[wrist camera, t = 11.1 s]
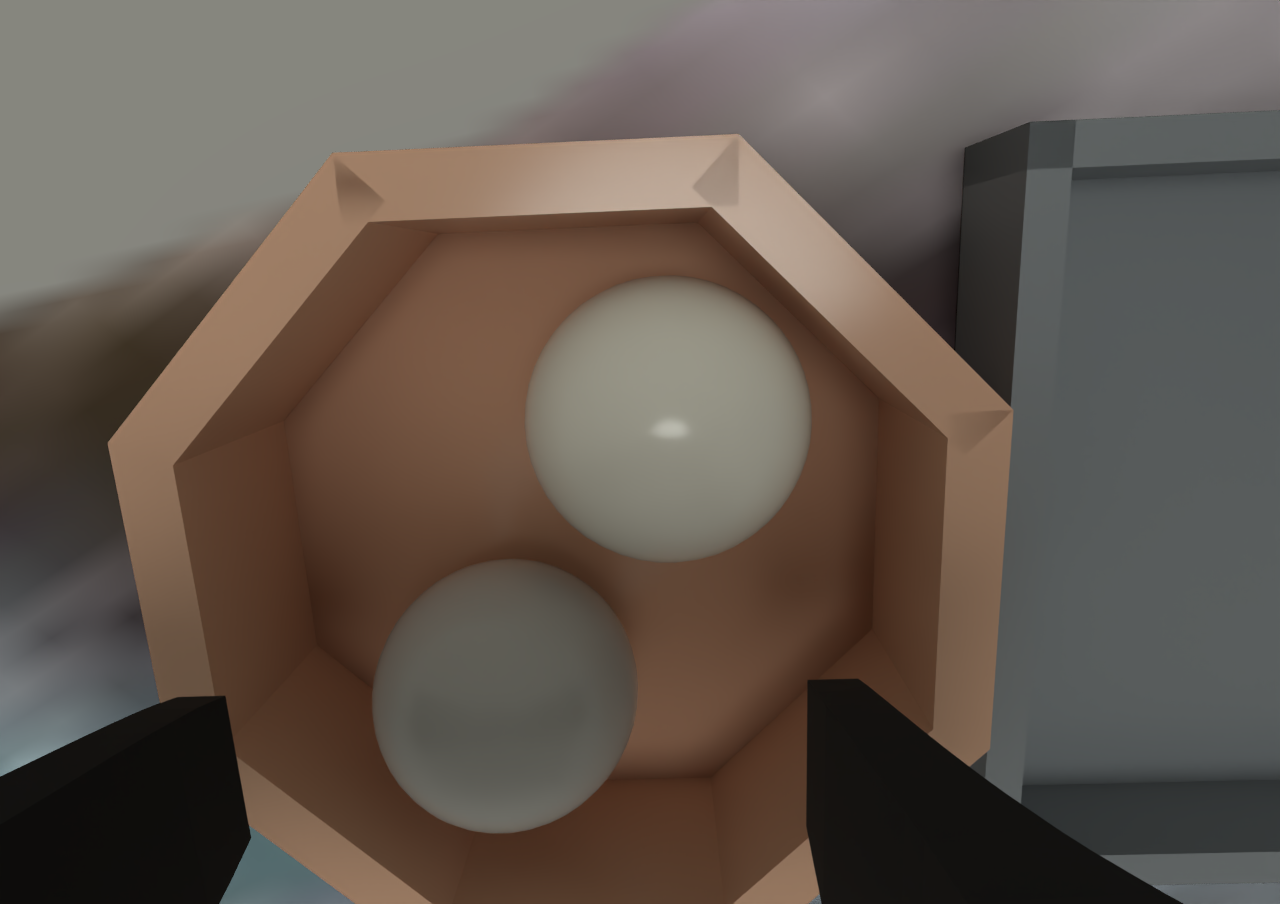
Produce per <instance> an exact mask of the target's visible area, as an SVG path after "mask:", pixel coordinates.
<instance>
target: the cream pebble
mask: <svg viewBox="0 0 1280 904" xmlns="http://www.w3.org/2000/svg"><path fill="white" fill-rule="evenodd" d="M811 430H812V408H811V400H810V393H809V388H808V384H807V380H806V376H805V373H804V370H803V368H802V365H801V363H800V360H799V358H798V356H797V354H796V352H795V350H794V348H793V347H792V345H791V343H790V341H789V340H788V339H787V337H786V336H785V334H784V333H783V332H782V330H781V329H780V328H779V327H778V325H777V324H776V323H775V322H774V321H773V320H772V319H771V318H770V317H769V316H768V315H767V314H766V313H765V312H764V311H762V310H761V309H760V308H759V307H758V306H757V305H755V304H754V303H752V302H751V301H749V300H748V299H746V298H745V297H743V296H742V295H740V294H738V293H736V292H734V291H732V290H730V289H729V288H727V287H725V286H722V285H719V284H716V283H714V282H711V281H708V280H703V279H699V278H694V277H688V276H677V275H668V276H649V277H644V278H638V279H633V280H630V281H627V282H624V283H620V284H617V285H615V286H613V287H611V288H609V289H607V290H605V291H602V292H600V293H599V294H597V295H595V296H593V297H592V298H590V299H589V300H587V301H586V302H584V303H583V304H581V305H580V306H579V307H578V308H576V309H575V310H574V311H573V312H572V313H571V314H570V315H569V316H567V317H566V319H565V320H564V321H563V322H562V323H561V324H560V326H559V327H558V328H557V329H556V330H555V331H554V333H553V334H552V335H551V337H550V339H549V340H548V342H547V343H546V345H545V346H544V348H543V349H542V351H541V353H540V355H539V358H538V360H537V362H536V364H535V366H534V369H533V372H532V375H531V379H530V382H529V385H528V391H527V397H526V403H525V434H526V444H527V448H528V452H529V456H530V461H531V464H532V466H533V469H534V472H535V474H536V477H537V479H538V481H539V483H540V485H541V487H542V489H543V490H544V492H545V494H546V496H547V497H548V499H549V500H550V502H551V503H552V504H553V506H554V507H555V508H556V510H557V511H558V512H559V513H560V514H561V515H562V516H563V517H564V519H565V520H566V521H567V522H568V523H569V524H570V525H571V526H573V527H574V528H575V529H576V530H578V531H579V532H580V533H581V534H583V535H584V536H585V537H587V538H588V539H590V540H592V541H593V542H595V543H597V544H598V545H600V546H602V547H604V548H606V549H609V550H611V551H613V552H615V553H618V554H620V555H623V556H627V557H630V558H634V559H637V560H643V561H650V562H657V563H677V562H685V561H692V560H698V559H702V558H706V557H709V556H713V555H717V554H719V553H721V552H724V551H726V550H728V549H731V548H733V547H735V546H736V545H738V544H740V543H741V542H743V541H744V540H746V539H748V538H749V537H751V536H752V535H754V534H755V533H756V532H757V531H758V530H760V529H761V528H762V527H763V526H765V525H766V524H767V523H768V522H769V521H770V520H771V519H772V518H773V517H774V516H775V515H776V513H777V512H778V511H779V510H780V509H781V507H782V506H783V504H784V503H785V502H786V500H787V499H788V497H789V496H790V494H791V492H792V491H793V489H794V487H795V485H796V483H797V481H798V479H799V477H800V475H801V473H802V470H803V467H804V465H805V462H806V459H807V454H808V450H809V446H810V439H811Z"/></svg>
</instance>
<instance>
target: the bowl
mask: <svg viewBox="0 0 1280 904" xmlns="http://www.w3.org/2000/svg"><path fill="white" fill-rule="evenodd" d="M668 275H677V276H688V277H694V278H699V279H703V280H708V281H711V282H714V283H716V284H719V285H722V286H725V287H727V288H729V289H730V290H732V291H734V292H736V293H738V294H740V295H742V296H743V297H745V298H746V299H748V300H749V301H751V302H752V303H754V304H755V305H757V306H758V307H759V308H760V309H761V310H762V311H764V312H765V313H766V314H767V315H768V316H769V317H770V318H771V319H772V320H773V321H774V322H775V323H776V324H777V325H778V327H779V328H780V329H781V330H782V332H783V333H784V334H785V336H786V337H787V339H788V340H789V341H790V343H791V345H792V347H793V348H794V350H795V352H796V354H797V356H798V358H799V360H800V363H801V365H802V368H803V370H804V373H805V376H806V380H807V384H808V388H809V393H810V400H811V408H812V430H811V439H810V446H809V450H808V454H807V459H806V462H805V465H804V467H803V470H802V473H801V475H800V477H799V479H798V481H797V483H796V485H795V487H794V489H793V491H792V492H791V494H790V496H789V497H788V499H787V500H786V502H785V503H784V504H783V506H782V507H781V509H780V510H779V511H778V512H777V513H776V515H775V516H774V517H773V518H772V519H771V520H770V521H769V522H768V523H767V524H766V525H765V526H763V527H762V528H761V529H760V530H758V531H757V532H756V533H755V534H754V535H752V536H751V537H749V538H748V539H746V540H744V541H743V542H741V543H740V544H738V545H736V546H735V547H733V548H731V549H728V550H726V551H724V552H721V553H719V554H717V555H713V556H709V557H706V558H702V559H698V560H692V561H685V562H677V563H657V562H650V561H643V560H637V559H634V558H630V557H627V556H623V555H620V554H618V553H615V552H613V551H611V550H609V549H606V548H604V547H602V546H600V545H598V544H597V543H595V542H593V541H592V540H590V539H588V538H587V537H585V536H584V535H583V534H581V533H580V532H579V531H578V530H576V529H575V528H574V527H573V526H571V525H570V524H569V523H568V522H567V521H566V520H565V519H564V517H563V516H562V515H561V514H560V513H559V512H558V511H557V510H556V508H555V507H554V506H553V504H552V503H551V502H550V500H549V499H548V497H547V496H546V494H545V492H544V490H543V489H542V487H541V485H540V483H539V481H538V479H537V477H536V474H535V472H534V469H533V466H532V464H531V461H530V456H529V452H528V448H527V444H526V434H525V403H526V397H527V391H528V385H529V382H530V379H531V375H532V372H533V369H534V366H535V364H536V362H537V360H538V358H539V355H540V353H541V351H542V349H543V348H544V346H545V345H546V343H547V342H548V340H549V339H550V337H551V335H552V334H553V333H554V331H555V330H556V329H557V328H558V327H559V326H560V324H561V323H562V322H563V321H564V320H565V319H566V317H567V316H569V315H570V314H571V313H572V312H573V311H574V310H575V309H576V308H578V307H579V306H580V305H581V304H583V303H584V302H586V301H587V300H589V299H590V298H592V297H593V296H595V295H597V294H599V293H600V292H602V291H605V290H607V289H609V288H611V287H613V286H615V285H617V284H620V283H624V282H627V281H630V280H633V279H638V278H644V277H649V276H668ZM1012 425H1013V409H1012V408H1011V407H1010V406H1009V405H1008V404H1007V403H1006V402H1005V401H1004V400H1003V399H1002V398H1001V397H1000V396H999V395H998V394H997V393H996V392H995V391H994V390H993V389H992V388H991V387H990V386H989V385H988V384H987V383H986V382H985V381H984V380H983V379H982V378H981V377H980V376H979V375H978V374H977V373H976V372H975V371H974V370H973V369H972V368H971V367H970V366H969V365H968V364H967V363H966V362H965V361H964V360H963V359H962V358H961V357H960V356H959V355H958V354H957V353H956V352H955V351H954V350H953V349H952V348H951V347H950V346H949V345H948V344H947V343H946V342H945V341H944V340H943V339H942V338H941V337H940V336H939V335H938V334H937V333H936V332H935V331H934V330H933V329H932V328H931V327H930V326H929V325H928V324H927V323H926V322H925V321H924V320H923V319H922V318H921V317H920V316H919V315H918V314H917V313H916V312H915V311H914V310H913V309H912V308H911V307H910V306H909V305H908V303H907V302H906V301H905V300H904V299H903V298H902V297H901V296H900V295H899V294H898V293H897V292H896V291H895V290H894V289H893V288H892V287H891V286H890V285H889V284H888V283H887V282H886V281H885V280H884V279H883V278H882V277H881V276H880V275H879V274H878V273H877V272H876V271H875V270H874V269H873V268H872V267H871V266H870V265H869V264H868V263H867V262H866V261H865V260H864V259H863V258H862V257H861V256H860V255H859V254H858V253H857V252H856V251H855V250H854V249H853V248H852V247H851V246H850V245H849V244H848V243H847V242H846V241H845V240H844V239H843V238H842V237H841V236H840V235H839V234H838V233H837V232H836V231H835V230H834V229H833V228H832V227H831V226H830V225H829V224H828V223H827V222H826V221H825V220H824V219H823V218H822V217H821V216H820V215H819V214H818V213H817V212H816V211H815V210H814V209H813V208H812V207H811V206H810V205H809V204H808V203H807V202H806V201H805V200H804V199H803V198H802V197H801V196H800V195H799V194H798V193H797V192H796V191H795V190H794V189H793V188H792V187H791V186H790V185H789V184H788V183H787V182H786V181H785V180H784V179H783V178H782V177H781V176H780V175H779V174H778V173H777V172H776V171H775V170H774V169H773V168H772V167H771V166H770V165H769V164H768V163H767V162H766V161H765V160H764V159H763V158H762V157H761V156H760V155H759V154H758V153H757V152H756V151H755V150H754V149H753V148H752V147H751V146H750V145H749V144H748V143H747V142H746V141H745V140H744V139H743V138H742V137H741V136H740V135H739V134H727V135H705V136H684V137H662V138H641V139H620V140H598V141H577V142H555V143H534V144H513V145H491V146H470V147H448V148H427V149H405V150H384V151H364V152H343V153H342V152H341V153H332V154H331V155H330V157H329V158H328V159H327V160H326V162H325V163H324V164H323V166H322V167H321V168H320V169H319V171H318V172H317V173H316V175H315V176H314V177H313V178H312V180H311V181H310V182H309V184H308V185H307V186H306V188H305V189H304V190H303V191H302V193H301V194H300V195H299V197H298V198H297V199H296V200H295V202H294V203H293V204H292V206H291V207H290V208H289V209H288V211H287V212H286V213H285V215H284V216H283V217H282V219H281V220H280V221H279V222H278V224H277V225H276V226H275V228H274V229H273V230H272V231H271V233H270V234H269V235H268V237H267V238H266V239H265V240H264V242H263V243H262V244H261V246H260V247H259V248H258V250H257V251H256V252H255V253H254V255H253V256H252V257H251V259H250V260H249V261H248V262H247V264H246V265H245V266H244V268H243V269H242V270H241V271H240V273H239V274H238V275H237V277H236V278H235V279H234V280H233V282H232V283H231V284H230V286H229V287H228V288H227V290H226V291H225V292H224V293H223V295H222V296H221V297H220V299H219V300H218V301H217V302H216V304H215V305H214V306H213V308H212V309H211V310H210V311H209V313H208V314H207V315H206V317H205V318H204V319H203V321H202V322H201V323H200V324H199V326H198V327H197V328H196V330H195V331H194V332H193V333H192V335H191V336H190V337H189V339H188V340H187V341H186V342H185V344H184V345H183V346H182V348H181V349H180V350H179V352H178V353H177V354H176V355H175V357H174V358H173V359H172V361H171V362H170V363H169V364H168V366H167V367H166V368H165V370H164V371H163V372H162V373H161V375H160V376H159V377H158V379H157V380H156V381H155V383H154V384H153V385H152V386H151V388H150V389H149V390H148V392H147V393H146V394H145V395H144V397H143V398H142V399H141V401H140V402H139V403H138V404H137V406H136V407H135V408H134V410H133V411H132V412H131V414H130V415H129V416H128V417H127V419H126V420H125V421H124V423H123V424H122V425H121V426H120V428H119V429H118V430H117V432H116V433H115V434H114V435H113V437H112V438H111V439H110V441H109V442H108V447H109V452H110V457H111V462H112V467H113V472H114V477H115V482H116V487H117V492H118V497H119V502H120V507H121V512H122V517H123V522H124V527H125V532H126V537H127V542H128V547H129V552H130V557H131V562H132V567H133V571H134V576H135V581H136V586H137V591H138V596H139V601H140V606H141V611H142V616H143V621H144V626H145V631H146V636H147V641H148V646H149V651H150V656H151V661H152V666H153V671H154V676H155V681H156V686H157V691H158V696H159V700H160V703H162V702H165V701H167V700H170V699H173V698H176V697H194V696H226V702H227V707H228V713H229V718H230V724H231V729H232V735H233V740H234V746H235V752H236V757H237V763H238V768H239V774H240V779H241V785H242V790H243V796H244V802H245V807H246V813H247V818H248V824H249V825H250V826H251V827H252V828H254V829H255V830H256V831H258V832H259V833H260V834H262V835H263V836H264V837H266V838H267V839H269V840H270V841H271V842H273V843H274V844H275V845H277V846H278V847H279V848H281V849H282V850H283V851H285V852H286V853H287V854H289V855H290V856H292V857H293V858H294V859H296V860H297V861H298V862H300V863H301V864H302V865H304V866H305V867H306V868H308V869H309V870H311V871H312V872H313V873H315V874H316V875H317V876H319V877H320V878H321V879H323V880H324V881H325V882H327V883H328V884H329V885H331V886H332V887H334V888H335V889H336V890H338V891H339V892H340V893H342V894H343V895H344V896H346V897H347V898H348V899H350V900H351V901H352V902H354V903H355V904H808V903H809V902H811V901H812V900H813V899H814V898H815V897H816V896H818V895H819V894H820V893H819V888H818V883H817V878H816V874H815V869H814V863H813V858H812V853H811V848H810V843H809V838H808V833H807V828H806V789H807V680H822V679H859V680H861V681H862V682H864V683H865V684H866V685H868V686H869V687H870V688H871V689H873V690H874V691H875V692H876V693H878V694H879V695H880V696H881V697H883V698H884V699H885V700H886V701H887V702H889V703H890V704H891V705H892V706H894V707H895V708H896V709H897V710H898V711H900V712H901V713H902V714H903V715H905V716H906V717H907V718H908V719H909V720H911V721H912V722H913V723H914V724H916V725H917V726H918V727H919V728H921V729H922V730H923V731H924V732H926V733H927V734H928V735H929V736H931V737H932V738H933V739H934V740H936V741H937V742H938V743H939V744H941V745H942V746H943V747H944V748H946V749H947V750H948V751H950V752H951V753H952V754H954V755H955V756H956V757H957V758H959V759H960V760H961V761H963V762H964V763H965V764H967V765H968V766H969V767H970V766H971V765H972V764H973V763H974V762H976V761H977V760H978V759H979V758H980V757H981V756H983V755H984V754H985V753H986V752H987V751H988V750H990V741H991V727H992V712H993V698H994V683H995V669H996V655H997V640H998V626H999V612H1000V597H1001V583H1002V568H1003V554H1004V540H1005V525H1006V511H1007V497H1008V482H1009V468H1010V454H1011V439H1012ZM499 559H525V560H533V561H539V562H543V563H547V564H550V565H553V566H555V567H558V568H560V569H563V570H565V571H567V572H569V573H571V574H573V575H574V576H576V577H578V578H579V579H581V580H582V581H584V582H585V583H587V584H588V585H589V586H591V587H592V588H593V589H594V590H595V591H597V592H598V593H599V594H600V595H601V596H602V598H603V599H604V600H605V601H606V602H607V603H608V604H609V606H610V607H611V608H612V609H613V611H614V612H615V614H616V615H617V617H618V619H619V620H620V622H621V624H622V625H623V627H624V629H625V631H626V634H627V636H628V639H629V641H630V644H631V646H632V650H633V654H634V658H635V663H636V667H637V676H638V700H637V711H636V716H635V722H634V726H633V729H632V732H631V735H630V738H629V741H628V743H627V746H626V748H625V750H624V752H623V754H622V756H621V758H620V760H619V762H618V764H617V765H616V767H615V768H614V770H613V771H612V773H611V774H610V776H609V777H608V778H607V780H606V781H605V782H604V783H603V784H602V785H601V787H600V788H599V789H598V790H597V791H596V792H595V793H594V794H593V795H592V796H590V797H589V798H588V799H587V800H586V801H585V802H584V803H583V804H581V805H580V806H579V807H577V808H576V809H574V810H573V811H571V812H570V813H568V814H567V815H565V816H563V817H561V818H559V819H557V820H555V821H553V822H551V823H549V824H546V825H543V826H540V827H537V828H534V829H531V830H526V831H520V832H514V833H483V832H476V831H470V830H466V829H463V828H460V827H457V826H454V825H451V824H449V823H446V822H444V821H442V820H440V819H438V818H437V817H435V816H433V815H432V814H430V813H429V812H427V811H426V810H425V809H423V808H422V807H421V806H419V805H418V804H417V803H416V802H414V801H413V800H412V799H411V797H410V796H409V795H408V794H407V793H406V792H405V791H404V790H403V789H402V788H401V787H400V785H399V784H398V782H397V781H396V779H395V778H394V776H393V775H392V773H391V772H390V771H389V768H388V766H387V764H386V762H385V760H384V758H383V756H382V754H381V751H380V748H379V745H378V741H377V738H376V735H375V729H374V722H373V715H372V691H373V683H374V676H375V672H376V668H377V664H378V660H379V657H380V655H381V652H382V650H383V648H384V645H385V643H386V640H387V638H388V636H389V634H390V633H391V631H392V629H393V627H394V625H395V624H396V622H397V621H398V620H399V618H400V617H401V616H402V614H403V613H404V612H405V610H406V609H407V608H408V607H409V606H410V605H411V604H412V603H413V602H414V601H415V600H416V599H417V598H418V597H419V596H420V595H421V594H422V593H423V592H424V591H425V590H427V589H428V588H429V587H430V586H432V585H433V584H434V583H436V582H437V581H439V580H441V579H442V578H444V577H446V576H448V575H449V574H451V573H453V572H455V571H457V570H460V569H462V568H465V567H467V566H470V565H473V564H477V563H481V562H486V561H490V560H499Z"/></svg>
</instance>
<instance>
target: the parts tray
mask: <svg viewBox="0 0 1280 904" xmlns="http://www.w3.org/2000/svg"><path fill="white" fill-rule="evenodd" d="M955 352H956V353H957V354H958V355H959V356H960V357H961V358H962V359H963V360H964V361H965V362H966V363H967V364H968V365H969V366H970V367H971V368H972V369H973V370H974V371H975V372H976V373H977V374H978V375H979V376H980V377H981V378H982V379H983V380H984V381H985V382H986V383H987V384H988V385H989V386H990V387H991V388H992V389H993V390H994V391H995V392H996V393H997V394H998V395H999V396H1000V397H1001V398H1002V399H1003V400H1004V401H1005V402H1006V403H1007V404H1008V405H1009V406H1010V407H1011V408H1012V409H1013V425H1012V439H1011V454H1010V468H1009V482H1008V497H1007V511H1006V525H1005V540H1004V554H1003V568H1002V583H1001V597H1000V612H999V626H998V640H997V655H996V669H995V683H994V698H993V712H992V727H991V741H990V750H988V751H987V752H986V753H985V754H984V755H983V756H981V757H980V758H979V759H978V760H977V761H976V762H974V763H973V764H972V765H971V766H970V767H971V768H972V769H973V770H975V771H976V772H977V773H978V774H980V775H981V776H983V777H984V778H985V779H987V780H988V781H989V782H991V783H992V784H994V785H995V786H996V787H998V788H999V789H1000V790H1002V791H1003V792H1005V793H1006V794H1007V795H1009V796H1010V797H1012V798H1013V799H1015V800H1016V801H1018V802H1019V803H1021V804H1022V805H1023V806H1025V807H1026V808H1028V809H1029V810H1031V811H1032V812H1034V813H1035V814H1037V815H1038V816H1040V817H1041V818H1042V819H1044V820H1045V821H1047V822H1048V823H1050V824H1051V825H1053V826H1054V827H1056V828H1057V829H1059V830H1060V831H1062V832H1063V833H1065V834H1066V835H1068V836H1069V837H1071V838H1073V839H1074V840H1076V841H1077V842H1079V843H1081V844H1082V845H1084V846H1085V847H1087V848H1088V849H1090V850H1092V851H1093V852H1095V853H1097V854H1098V855H1100V856H1102V857H1103V858H1105V859H1107V860H1109V861H1110V862H1112V863H1114V864H1115V865H1117V866H1119V867H1120V868H1122V869H1124V870H1126V871H1127V872H1129V873H1131V874H1132V875H1134V876H1136V877H1137V878H1139V879H1141V880H1143V881H1144V882H1146V883H1148V884H1149V885H1183V884H1235V883H1280V110H1276V111H1254V112H1233V113H1211V114H1190V115H1169V116H1147V117H1126V118H1104V119H1083V120H1061V121H1040V122H1029V123H1026V124H1024V125H1021V126H1019V127H1016V128H1014V129H1011V130H1009V131H1006V132H1004V133H1001V134H999V135H996V136H994V137H991V138H989V139H986V140H984V141H981V142H979V143H976V144H974V145H971V146H969V147H966V148H965V166H964V186H963V205H962V225H961V244H960V264H959V283H958V303H957V322H956V342H955Z"/></svg>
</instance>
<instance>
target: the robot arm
mask: <svg viewBox="0 0 1280 904" xmlns="http://www.w3.org/2000/svg"><path fill="white" fill-rule="evenodd" d="M806 828H807V833H808V838H809V843H810V848H811V853H812V858H813V863H814V869H815V874H816V878H817V883H818V888H819V893H820V897H821V902H822V904H1183V903H1181V902H1179V901H1177V900H1176V899H1174V898H1172V897H1170V896H1168V895H1167V894H1165V893H1163V892H1161V891H1160V890H1158V889H1156V888H1154V887H1153V886H1151V885H1149V884H1148V883H1146V882H1144V881H1143V880H1141V879H1139V878H1137V877H1136V876H1134V875H1132V874H1131V873H1129V872H1127V871H1126V870H1124V869H1122V868H1120V867H1119V866H1117V865H1115V864H1114V863H1112V862H1110V861H1109V860H1107V859H1105V858H1103V857H1102V856H1100V855H1098V854H1097V853H1095V852H1093V851H1092V850H1090V849H1088V848H1087V847H1085V846H1084V845H1082V844H1081V843H1079V842H1077V841H1076V840H1074V839H1073V838H1071V837H1069V836H1068V835H1066V834H1065V833H1063V832H1062V831H1060V830H1059V829H1057V828H1056V827H1054V826H1053V825H1051V824H1050V823H1048V822H1047V821H1045V820H1044V819H1042V818H1041V817H1040V816H1038V815H1037V814H1035V813H1034V812H1032V811H1031V810H1029V809H1028V808H1026V807H1025V806H1023V805H1022V804H1021V803H1019V802H1018V801H1016V800H1015V799H1013V798H1012V797H1010V796H1009V795H1007V794H1006V793H1005V792H1003V791H1002V790H1000V789H999V788H998V787H996V786H995V785H994V784H992V783H991V782H989V781H988V780H987V779H985V778H984V777H983V776H981V775H980V774H978V773H977V772H976V771H975V770H973V769H972V768H971V767H969V766H968V765H967V764H965V763H964V762H963V761H961V760H960V759H959V758H957V757H956V756H955V755H954V754H952V753H951V752H950V751H948V750H947V749H946V748H944V747H943V746H942V745H941V744H939V743H938V742H937V741H936V740H934V739H933V738H932V737H931V736H929V735H928V734H927V733H926V732H924V731H923V730H922V729H921V728H919V727H918V726H917V725H916V724H914V723H913V722H912V721H911V720H909V719H908V718H907V717H906V716H905V715H903V714H902V713H901V712H900V711H898V710H897V709H896V708H895V707H894V706H892V705H891V704H890V703H889V702H887V701H886V700H885V699H884V698H883V697H881V696H880V695H879V694H878V693H876V692H875V691H874V690H873V689H871V688H870V687H869V686H868V685H866V684H865V683H864V682H862V681H861V680H859V679H822V680H807V789H806ZM250 839H251V835H250V829H249V824H248V818H247V813H246V807H245V802H244V796H243V790H242V785H241V779H240V774H239V768H238V763H237V757H236V752H235V746H234V740H233V735H232V729H231V724H230V718H229V713H228V707H227V702H226V696H194V697H176V698H173V699H170V700H167V701H165V702H162V703H159V704H156V705H154V706H151V707H149V708H146V709H144V710H141V711H139V712H137V713H134V714H132V715H130V716H128V717H125V718H123V719H121V720H119V721H116V722H114V723H112V724H110V725H108V726H106V727H103V728H101V729H99V730H97V731H95V732H93V733H91V734H88V735H86V736H84V737H82V738H80V739H78V740H76V741H74V742H72V743H70V744H67V745H65V746H63V747H61V748H59V749H57V750H55V751H53V752H51V753H49V754H47V755H45V756H42V757H40V758H38V759H36V760H34V761H32V762H30V763H28V764H26V765H24V766H22V767H20V768H17V769H15V770H13V771H11V772H9V773H7V774H5V775H3V776H1V777H0V904H219V903H220V901H221V899H222V897H223V895H224V893H225V891H226V889H227V887H228V885H229V884H230V881H231V879H232V877H233V875H234V873H235V871H236V869H237V867H238V865H239V862H240V860H241V858H242V856H243V854H244V852H245V850H246V848H247V845H248V843H249V841H250Z"/></svg>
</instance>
